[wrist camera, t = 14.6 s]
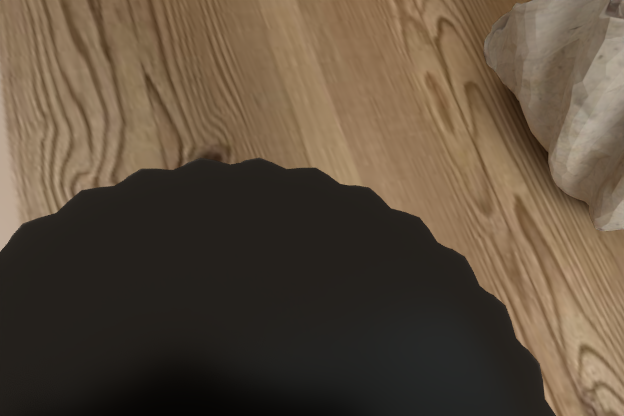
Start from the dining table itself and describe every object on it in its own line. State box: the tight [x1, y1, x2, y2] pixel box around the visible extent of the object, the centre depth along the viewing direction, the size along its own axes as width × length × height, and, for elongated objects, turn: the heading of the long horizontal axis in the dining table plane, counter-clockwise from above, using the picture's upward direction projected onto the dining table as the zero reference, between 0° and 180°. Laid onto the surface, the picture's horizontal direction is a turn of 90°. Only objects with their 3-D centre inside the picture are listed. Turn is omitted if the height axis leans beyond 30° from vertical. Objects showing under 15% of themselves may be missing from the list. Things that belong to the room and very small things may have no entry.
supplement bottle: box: [0, 158, 556, 416], centre depth 8 cm, size 7×7×12 cm
